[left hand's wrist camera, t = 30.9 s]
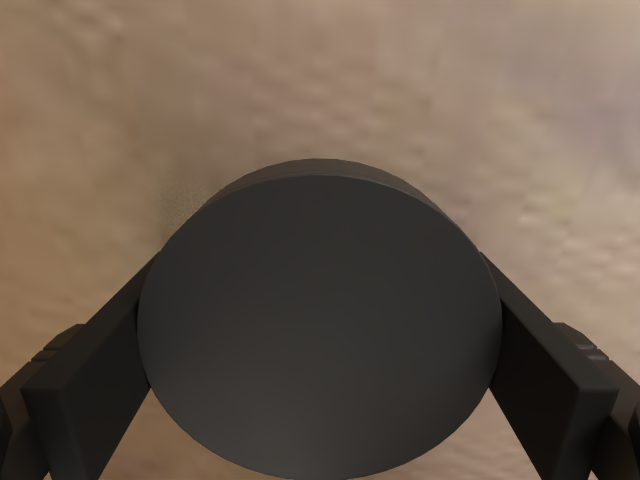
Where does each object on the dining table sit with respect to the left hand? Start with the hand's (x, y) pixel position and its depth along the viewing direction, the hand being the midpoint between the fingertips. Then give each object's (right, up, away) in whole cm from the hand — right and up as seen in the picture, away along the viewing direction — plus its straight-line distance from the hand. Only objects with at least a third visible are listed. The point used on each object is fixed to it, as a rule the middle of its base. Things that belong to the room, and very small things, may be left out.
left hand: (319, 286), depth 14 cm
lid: (0, -1, -3) cm, 3 cm away
